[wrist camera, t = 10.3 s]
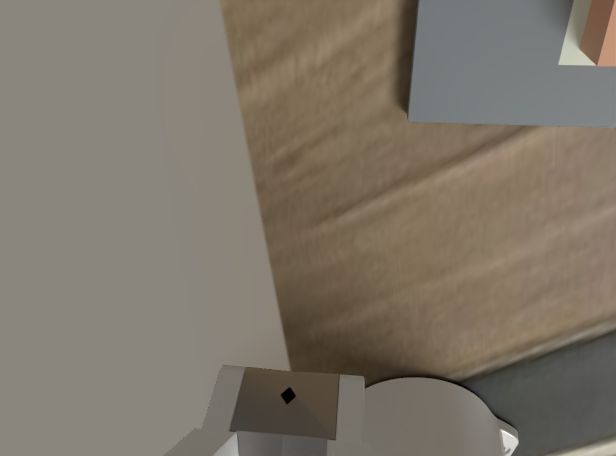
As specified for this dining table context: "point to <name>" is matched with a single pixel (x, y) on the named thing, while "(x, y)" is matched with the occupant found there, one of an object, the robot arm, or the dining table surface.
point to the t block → (600, 33)
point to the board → (507, 65)
